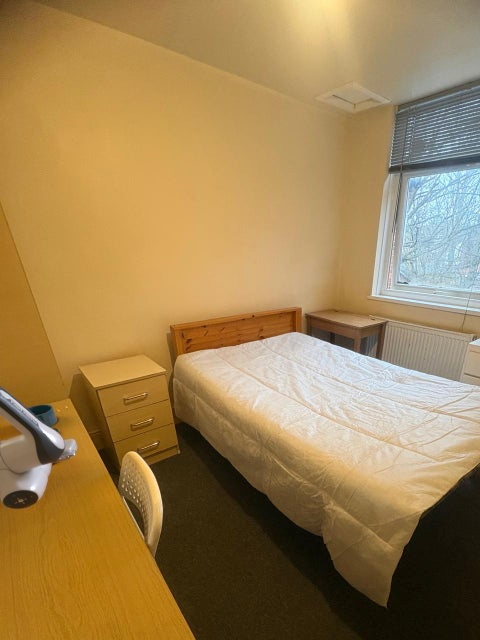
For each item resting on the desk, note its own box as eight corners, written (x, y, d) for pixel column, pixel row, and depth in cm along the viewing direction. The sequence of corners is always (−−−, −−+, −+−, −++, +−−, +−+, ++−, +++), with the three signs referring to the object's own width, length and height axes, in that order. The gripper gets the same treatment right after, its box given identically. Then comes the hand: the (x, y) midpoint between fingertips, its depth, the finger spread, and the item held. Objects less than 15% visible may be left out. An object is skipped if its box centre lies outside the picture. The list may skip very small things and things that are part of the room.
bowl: (21, 432, 125) (16, 419, 122) (27, 419, 134) (22, 407, 131) (55, 426, 130) (50, 413, 127) (59, 414, 138) (54, 402, 135)
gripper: (72, 448, 98) (76, 427, 109) (-15, 465, 89) (-1, 440, 100) (77, 465, 101) (81, 442, 112) (-7, 483, 92) (6, 456, 103)
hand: (42, 441), depth 106 cm, fingers open, 8 cm apart
